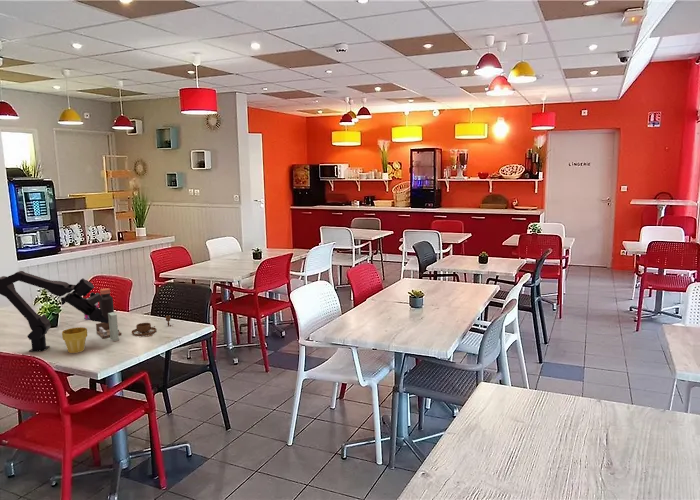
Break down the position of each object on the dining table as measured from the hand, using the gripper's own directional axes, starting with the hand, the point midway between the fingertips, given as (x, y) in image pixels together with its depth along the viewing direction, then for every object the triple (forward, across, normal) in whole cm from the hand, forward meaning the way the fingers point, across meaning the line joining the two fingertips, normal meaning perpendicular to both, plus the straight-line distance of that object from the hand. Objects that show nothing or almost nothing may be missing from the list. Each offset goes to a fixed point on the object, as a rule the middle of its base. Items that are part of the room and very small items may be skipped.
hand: (105, 320), depth 254 cm
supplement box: (+10, +49, +5) cm, 50 cm away
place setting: (+24, +1, -8) cm, 25 cm away
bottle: (+12, +28, +3) cm, 31 cm away
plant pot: (-3, -6, +18) cm, 19 cm away
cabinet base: (+10, +10, +5) cm, 15 cm away
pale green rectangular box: (+10, 0, +5) cm, 11 cm away
